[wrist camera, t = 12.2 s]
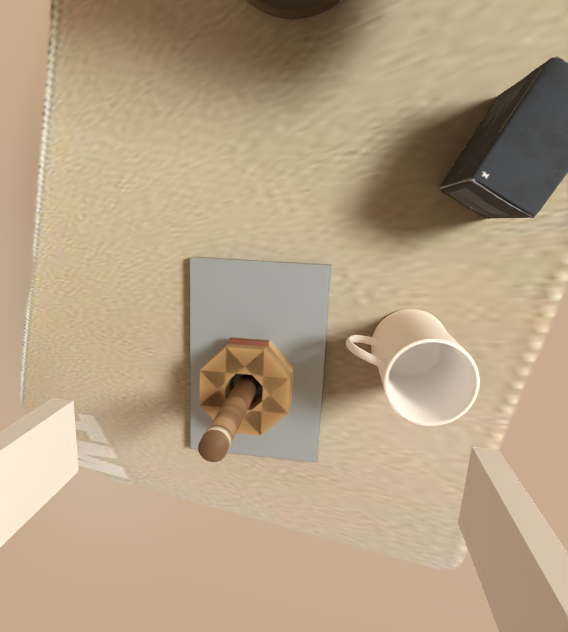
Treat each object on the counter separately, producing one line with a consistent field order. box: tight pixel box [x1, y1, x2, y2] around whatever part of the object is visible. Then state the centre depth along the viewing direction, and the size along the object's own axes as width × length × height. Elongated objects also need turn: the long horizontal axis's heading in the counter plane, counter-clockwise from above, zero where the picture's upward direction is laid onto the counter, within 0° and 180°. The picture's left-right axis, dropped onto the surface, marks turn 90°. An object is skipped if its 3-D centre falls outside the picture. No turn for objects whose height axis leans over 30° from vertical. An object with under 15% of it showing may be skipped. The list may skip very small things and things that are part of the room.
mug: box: [346, 309, 480, 426], centre depth 42 cm, size 12×8×12 cm
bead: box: [200, 337, 294, 436], centre depth 48 cm, size 11×10×4 cm
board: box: [190, 257, 331, 463], centre depth 50 cm, size 24×16×1 cm, turn 177°
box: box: [439, 57, 568, 219], centre depth 38 cm, size 11×7×10 cm, turn 149°
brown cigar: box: [198, 374, 260, 462], centre depth 42 cm, size 2×2×16 cm
